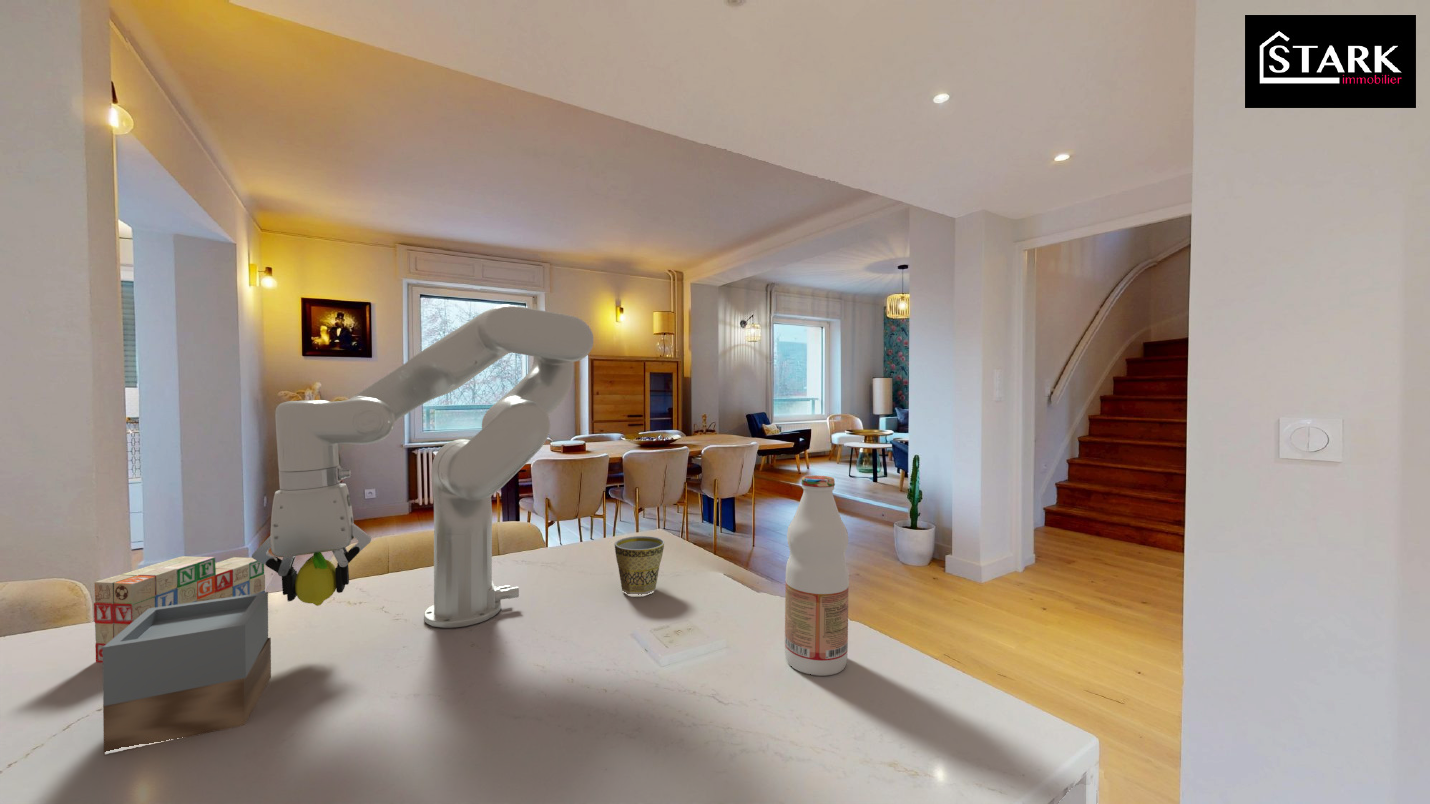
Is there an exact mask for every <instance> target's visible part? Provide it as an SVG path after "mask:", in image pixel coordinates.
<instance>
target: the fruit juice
mask: <svg viewBox="0 0 1430 804" xmlns="http://www.w3.org/2000/svg"><path fill="white" fill-rule="evenodd" d="M800 483H801V488H802V489H803V493H802V496H801V498H800V500H799V503H798V506H797V509H796V511H795V515H794V516H793V518H792V520H791V522H790V523H789V525H788V527H787V532H786V540H787V545H788V549H789V557H788V559H787V562H786V566H785V581H784V582H785V583H784V584H785V595H784V596H785V602H784V603H785V604H784V605H785V606H784V656H785V660H786V662H787V664H788V665H789V666H790V667H791V666H792V667H791V668H792V669H795V670H796V671H798V672H799V673H802V674H806V675H810V674H811V676H817V677H821V676H823V677H824V676H826V677H827V676H832V675H836V674H838V673H840V672H842V671H843V670H844V669H846V666H847V662H848V653H849V652H848V651H849V650H848V649H849V648H848V647H849V642H848V641H849V591H850V590H849V588H850V587H849V585H850V583H849V580H850V578H849V567H848V564H847V561H846V551H847V549H848V545H849V532H848V530H847V527H846V525H845V524H844V522H843V520H842V518H841V515H840V512H839V510H838V507H837V504H836V500H835V497H834V494H833V492H834V491H833V490H835V478H834V477H833V476H828V475H815V474H814V475H813V474H812V475H805V476H802V478H801V482H800Z"/></svg>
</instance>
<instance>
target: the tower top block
mask: <svg viewBox="0 0 1430 804" xmlns="http://www.w3.org/2000/svg"><path fill="white" fill-rule="evenodd" d="M268 638H269V592H268V591H265V592H263V593H256V594H249V595H242V596H235V597H227V598H220V599H213V600H206V601H199V602H191V603H184V604H177V605H170V606H163V607H155V608H149V609H147V610H146V611H145V612H144V613H143V614H141V615H140V616H139V617H138V618H137V619H136V620H134V621H133V622H132V623H131V624H130V625H128V626H127V627H126V628H125V629H124V630H123V631H121V632H120V633H119V634H118V635H117V636H115V637H114V638H113V639H112V640H111V641H110V642H108V643H107V644H106V645H105V646H104V647H103V663H102V698H103V699H102V700H103V701H102V702H103V704H102V705H103V706H106V705H111V704H117V703H122V702H127V701H132V700H137V699H142V698H147V697H152V696H157V695H162V694H167V693H172V692H177V691H182V690H187V689H192V688H197V687H202V686H207V685H213V684H218V683H223V682H228V681H233V680H238V679H243V678H246V677H247V675H248V673H249V671H250V669H251V668H252V666H253V664H254V662H255V661H256V659H257V657H258V655H259V653H260V652H261V650H262V648H263V646H264V645H265V643H266V641H267V639H268ZM103 706H102V707H103Z"/></svg>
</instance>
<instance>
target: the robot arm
mask: <svg viewBox="0 0 1430 804" xmlns="http://www.w3.org/2000/svg"><path fill="white" fill-rule="evenodd" d="M593 346H594V334H593V331H592V329H591V328H590V326H589V325H588V323H586V322H585V321H584V320H582V319H580V318H579V317H577V316H574V315H570V314H569V315H568V314H563V313H559V312H552V311H547V310H541V309H535V308H531V307H530V308H529V307H526V306H520V305H512V304H501V305H497V306H495V307H493V308H489V309H488V310H485V311H483V312H482V313H480V314H478V315H477V316H475V317H473V318H472V319H471V320H468V321H467V322H466V323H464V324H463V325H461V326H459V327H458V328H456V329H454V330H453V331H451V332H450V333H448V334H446V335H445V336H443V337H442V338H440V339H439V340H437V341H436V342H434V343H432V344H430V345H429V346H427V347H425V349H423V350H421V351H420V352H418V353H417V354H415V355H414V356H413V357H411V358H410V359H409V360H408V361H406V362H405V363H403V364H402V365H400V366H399V367H397V368H396V369H395V370H393V371H392V372H390V373H389V374H386V375H385V376H384V377H383V376H382V377H381V378H380V379H379V380H377V381H376V382H374V383H372V384H370V385H369V386H368V387H366V388H364V389H363V390H362V391H360V392H359V393H357V394H355V395H354V396H352V397H350V398H348V399H346V400H339V401H329V400H323V399H317V400H316V399H314V400H313V399H311V400H307V399H306V400H290V401H289V400H288V401H283V402H281V403H279V404H278V405H277V406H276V409H275V414H274V415H275V433H276V447H277V448H276V449H277V465H278V467H277V468H278V478H279V479H278V481H279V490H276V491H275V492H274V496H273V500H272V506H271V507H272V509H271V516H270V517H271V518H270V519H271V520H270V535H269V536H267V539H265V540H264V542H262V544H261V545H259V547H258V548H257V549H256V550H255V551H254V552H253V553H252V554H251V558H253V559H255V560H257V561H259V562H261V563H262V564H264V566H266V567H267V568H269V569H270V570H272V571H274V572H275V573H277V575H278V576H279V577H281V586H282V587H281V588H282V595H283V596H285V595H287V596H286V597H287V598H286V599H287V602H293V601H294V600H295V599H296V597H297V595H296V592H295V580H296V576H297V573H298V572H297V570H296V569H295V567H294V564H295V563H294V562H295V561H296V558H297V556H303V555H304V556H305V555H310V554H314V553H319V552H321V553H324V552H331V551H332V554H333V556H334V558H335V560H336V562H337V564H336V566H335V568H336V569H335V573H336V590H335V591H336V593H338V594H340V593H343V592H344V590H345V587H346V586H348V585H349V583H350V571H349V570H350V569H349V563H351V562H352V560H354V558H355V557H357V555H358V554H359V553H360V552H361V551H363V549H364V548H366V547H367V546H368V545H369V544H370V543H371V542H372V539H373V538H372V536H371V535H369V534H368V533H367V532H365V531H364V530H363V529H362V528H360V527H359V526H358V525H356V524H355V523H354V515H353V506H352V500H351V495H350V491H349V488H348V486H347V484H346V483H341V481H342V480H344V479H347V478H351V477H352V476H351V475H352V471H351V469H350V468H349V469H346V468H342V467H341V464H340V458H339V455H340V454H339V445H340V444H341V445H342V444H346V445H347V444H349V445H371V444H375V443H379V442H382V441H383V440H385V439H386V438H387V437H389V435H390V434H391V433H392V431H393V430H394V427H395V424H396V422H397V421H399V420H400V419H401V418H403V417H405V416H406V415H407V414H409V413H410V412H412V411H413V410H415V409H417V408H419V407H420V406H422V405H424V404H426V403H427V402H429V401H431V400H434V399H436V398H441V397H443V396H445V395H447V394H450V393H452V392H454V391H456V390H457V389H459V388H461V387H462V386H464V385H465V384H466V383H467V382H469V381H470V380H472V379H474V377H477V375H479V374H480V373H482V372H484V370H486V369H487V368H489V367H491V366H492V365H494V364H495V363H496V362H498V361H499V360H500V359H502V358H503V357H505V356H506V355H508V354H516V355H525V356H528V357H529V356H531V357H533V362H532V366H531V368H530V370H529V372H528V373H526V375H525V376H524V377H523V378H522V379H521V380H520V381H519V382H518V383H517V384H516V385H515V386H514V387H513V388H512V389H510V391H508V392H507V393H505V395H504V396H503V397H501V398H500V399H499V400H497V402H495V403H494V404H493V405H492V406H490V408H488V409H487V410H486V412H485V414H484V416H483V417H482V421H481V430H480V431H479V432H477V433H476V435H474V436H473V438H471V439H467V438H466V439H464V438H461V439H455V440H452V441H449V442H447V443H446V444H444V445H443V446H442V447H441V448H440V449H439V450H438V451H437V452H436V454H435V455H434V457H433V460H432V464H431V474H430V475H431V488H432V498H433V604H432V605H430V606H429V607H428V608H427V609H426V610H425V611H424V613H423V620H424V623H426V624H427V625H429V626H432V627H435V628H441V629H442V628H443V629H444V628H448V629H449V628H450V629H451V628H452V629H453V628H461V627H462V628H463V627H468V626H472V625H476V624H479V623H482V622H485V621H487V620H489V619H492V618H493V617H494V616H496V615H497V614H498V613H500V610H501V609H502V603H501V601H502V600H506V599H508V600H510V599H516V598H519V597H520V588H519V586H514V587H511V585H510V584H508V585H502V586H497V585H495V584H494V581H493V576H492V575H493V568H492V567H493V565H492V564H493V556H492V555H493V506H492V496H493V495H494V494H495V493H497V492H499V490H501V489H502V488H503V487H504V486H505V485H506V484H507V483H508V482H509V481H510V480H511V479H512V478H514V476H515V475H516V474H517V473H518V472H519V471H520V470H521V469H522V468H523V467H524V466H525V465H526V464H527V463H528V462H529V461H530V460H531V459H532V458H533V457H534V456H535V455H536V454H537V453H538V452H539V451H540V450H541V448H542V447H543V445H544V444H545V443H546V441H547V440H548V437H549V435H550V431H551V422H550V421H551V419H550V416H551V414H552V413H554V412H555V410H556V409H557V408H558V407H559V406H560V405H561V404H562V402H563V401H564V400H565V399H566V397H567V396H568V395H569V393H570V390H571V388H572V384H573V380H574V362H579V361H581V360H583V359H584V358H586V357H587V356H588V355H589V354H590V353H591V351H592V349H593ZM354 538H355V539H356V540H357V542H356V543H355V544H354V545H353V546H352V547H351V548H350V549H349V550H348V549H347V547H349V546H350V545H351V542H352V540H353V539H354ZM270 549H271V553H270V552H269V550H270ZM281 558H282V559H281Z"/></svg>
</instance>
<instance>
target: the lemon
mask: <svg viewBox="0 0 1430 804" xmlns="http://www.w3.org/2000/svg"><path fill="white" fill-rule="evenodd" d="M335 569H336V566H335V565H334V564H333V562H332V561H330V560H329V559H326V558H325V556H324V555H323V552H319V553H313V555H312V556H311V557H309V558H308V559H307V560H306V561H305V562H304V563H303V564H302V566H301V567H300V569H298V572H297V576H296V580H295V592H296V595H297V596H296V597H297V599H298V600H299V601H301V602H302V603H305V604H313V605H315V606H317V607H318V606H321V605H322V604H323V603H324V602H325V601H326V600H329V598H330V597H332V596H333V594H334V593H335V592H336V591H337V590H336V573H335Z"/></svg>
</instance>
